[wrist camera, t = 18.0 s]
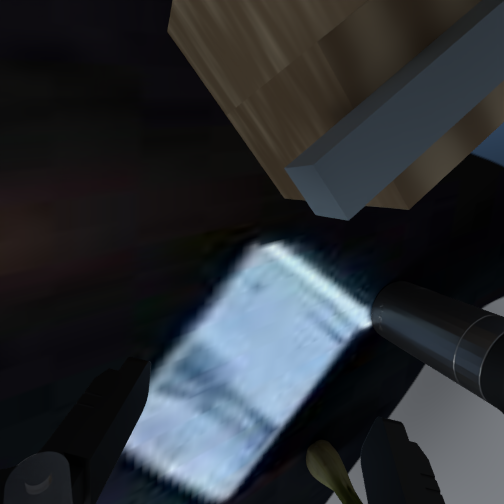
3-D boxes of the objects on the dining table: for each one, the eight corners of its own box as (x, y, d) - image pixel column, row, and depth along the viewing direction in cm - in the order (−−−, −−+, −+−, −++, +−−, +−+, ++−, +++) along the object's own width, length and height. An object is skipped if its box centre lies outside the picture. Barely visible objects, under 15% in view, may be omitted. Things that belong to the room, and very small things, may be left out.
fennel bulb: (333, 457, 53) (384, 530, 42) (306, 472, 52) (351, 551, 41) (326, 429, 52) (377, 496, 40) (298, 443, 50) (343, 517, 39)
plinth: (267, -43, 36) (840, -1071, 7) (362, 130, 44) (832, 15, 14) (167, 31, 35) (331, -899, 5) (284, 198, 42) (630, 229, 12)
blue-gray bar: (539, -50, 22) (608, -90, 19) (554, 3, 23) (621, -27, 20) (284, 168, 19) (313, 164, 16) (315, 214, 21) (348, 220, 17)
